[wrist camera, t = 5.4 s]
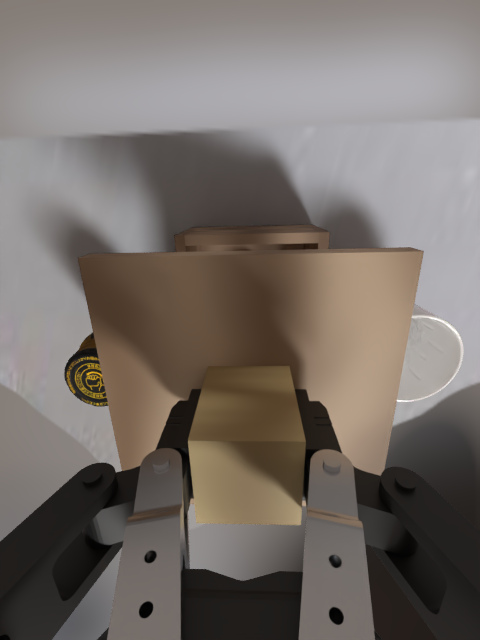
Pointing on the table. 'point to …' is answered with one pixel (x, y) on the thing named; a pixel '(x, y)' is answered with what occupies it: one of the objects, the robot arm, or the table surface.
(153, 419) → the lid
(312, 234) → the box
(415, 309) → the white cup
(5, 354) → the table surface
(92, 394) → the condiment
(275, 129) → the table surface
